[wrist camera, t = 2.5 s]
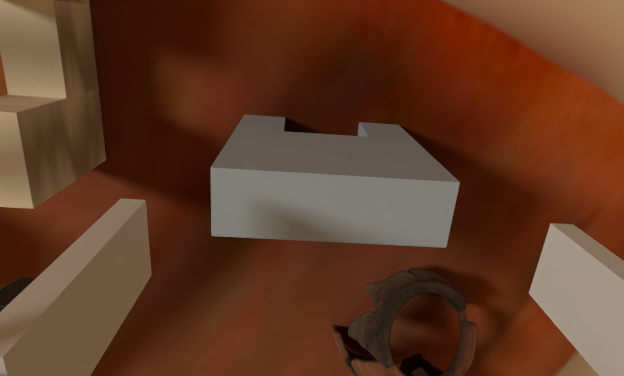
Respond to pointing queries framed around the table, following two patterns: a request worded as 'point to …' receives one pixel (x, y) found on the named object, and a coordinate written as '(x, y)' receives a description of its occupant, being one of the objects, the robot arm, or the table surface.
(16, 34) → the slotted board
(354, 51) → the table surface
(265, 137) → the slotted plate
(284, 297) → the table surface
